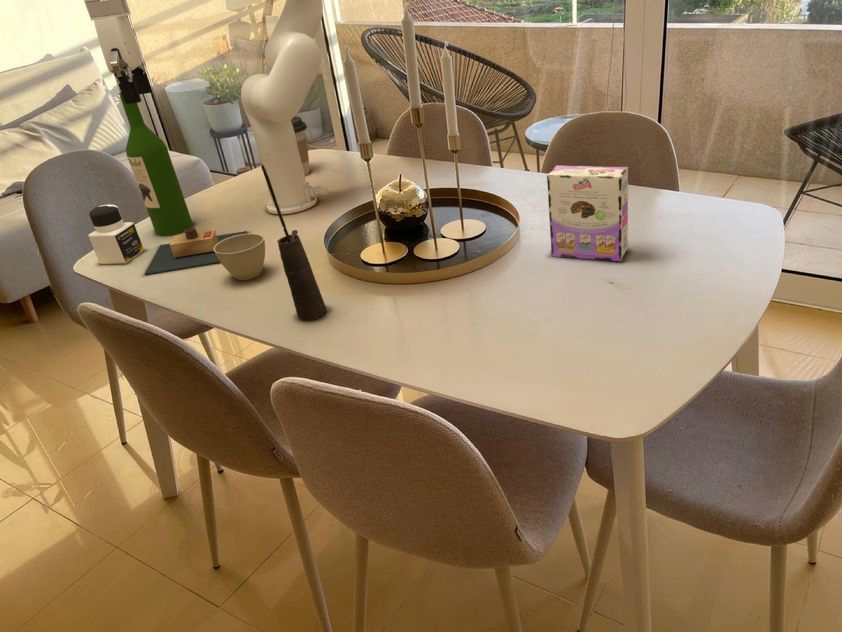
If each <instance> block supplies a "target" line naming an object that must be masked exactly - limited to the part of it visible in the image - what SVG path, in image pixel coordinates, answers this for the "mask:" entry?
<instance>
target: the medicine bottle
mask: <svg viewBox="0 0 842 632" xmlns="http://www.w3.org/2000/svg"><path fill="white" fill-rule="evenodd" d="M88 216H89V218H90V220H91V223H92V225H93V227H94V229H95V230H93V231H92V232H90V233H89V234H88V235H87V237H88V239H89V242H90V244H91V246H92V248H93V250H94V253H95V256H96V258H97V260H98V262H99V264H101V265H111V264H112V265H113V264H114V265H117V264H118V265H119V264H121V265H122V264H123V265H124V264H125V265H126V264H128V263H129V262H131V261H132V260H134V259H135V258H136V257H138V256H139V255H141V254H142V253H143V252H144V251H145V249H144V246H143V242H142V241H141V238H140V236H139V233H138V230H137V227H136V225H135V223H134V222H132V221H128V222H127V221H126V222H125V221H124V218H123V216H122V214H121V211H120V208H119V207H118V206H117V205H115V204H103V205H99V206H96V207H94V208H92V209H91V210H90V211H89V213H88Z"/></svg>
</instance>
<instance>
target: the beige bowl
mask: <svg viewBox="0 0 842 632" xmlns="http://www.w3.org/2000/svg"><path fill="white" fill-rule="evenodd" d="M265 242H266V241H265V237H264V235H263V234H260V233H247V234H241V235H236V236H232V237H229V238H226V239H224V240H222V241H220V242H219V243H217V244H216V245H215V246H214V252H215V254H216V256H217V258H218V259H219V261H220V262H221V263H220V265H222V266H223V267H224V269H225V270H226V271H227V272H228V273H229V274H230V275H231V276H232V277H234V278H235V279H236V280H238V281H248V280H252V279H255V278H257V277H259V276H260V275H261V274H262V272H263V268H264V264H265V258H266V243H265Z"/></svg>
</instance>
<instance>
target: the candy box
mask: <svg viewBox="0 0 842 632" xmlns="http://www.w3.org/2000/svg"><path fill="white" fill-rule="evenodd" d="M546 182H547V198H548V199H547V200H548V202H547V203H548V216H549V217H548V218H549V233H550V256H551V257H555V258H556V257H557V258H569V259H570V258H571V259H582V260H594V261H595V260H596V261H609V262H621V261H622V260H623V259H624V257H625V255H626V253H627V252H628V246H629V245H628V244H629V243H628V241H629V239H628V237H629V236H628V235H629V233H628V232H629V166H594V165H593V166H590V165H585V166H584V165H555V167H553V169H551V171H550V172H548V174H547V175H546Z"/></svg>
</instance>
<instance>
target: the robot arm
mask: <svg viewBox="0 0 842 632" xmlns="http://www.w3.org/2000/svg"><path fill="white" fill-rule="evenodd" d="M83 2H84V5H85V7H86V10H87V13H88V15H89V18H90V20H91V21H93V22H94V28H95V31H96V37H97V39H98V42H99V45H100V49H101V52H102V55H103V58H104V61H105V65H106V67H107V68H106V69H107V70H108V71H109V73H111V74H113V75H114V77H115V79H116V83H117V85H118V87H119V90H120V92H121V93H122V96H123V99H124V102H125V104H132V103H137V104H139V103H141V102H142V97H141V95H145V94H151V93H152V92H153V90H152V87H151V83H150V81H149V77H148V75H147V73H146V69H145V67H144V65H143V57H142V54H141V50H140V46H139V44H138V41H137V37H136V35H135V33H134V30H133V27H132V26H131V23H130V20H129V18H128V16H129V15H131V14H132V13H131V11H130V8H129V4H128V2H127V0H83ZM323 8H324V5H323V0H285V2H284V6H283V8H282V11H281V14H280V16H279V18H278V20H277V22H276V24H275V27H274V28H273V30H272V32H271V35H270V36H269V39H268V41H267V43H266V45H265V48H264V60H265V62H266V64H267V66H268V67H269V68H270V69H271V70H270V71H269V74H267V73H255V74H252V75H250V76H248V77H247V78H246V79H245V81H244V82H243V83H242V86H241V90H240V99H241V104H242V108H243V110H244V113H245V115H246V117H247V120H248V123H249V126H250V128H251V131H252V134H253V138H254V142H255V146H256V149H257V153H258V156H259V160H260V164H261V165H262V164H263V166H264V168H265V170H266V172H267V174H268V177H269V179H270V182H271V185H272V188H273V191H274V194H275V197H276V200H277V203H278V206H279V209H280V211H281V214H282V215H289V214H295V213H300V212H302V211H305V210H308V209H310V208H312V207H313V206H315V205H316V204H317V202H318V199H317V196H325V195H328V192H327V187H326V186H322V185H316V186H312V185H311V184H310V181H307V179H306V175H304V170H303V166H302V162H301V158H300V154H299V150H298V145H297V140H296V136H295V132H294V129H293V126H292V123H291V119H292V118H294V117H295V116H296V117H297V114H298V113H299V112H300V110H301V109H302V106H303V105H304V103H305V100H306V99H307V96H308V94H309V92H310V90H311V88H312V86H313V84H314V83H315V80H316V78H317V76H318V73H319V71H320V68H321V62H322V61H321V60H322V56H321V55H322V54H321V50H320V47H319V45H318V43H317V42H316V41H315V40H314V39H315V38H316V35H317V32H318V29H319V27H320V25H321V21H322V18H323V13H324V9H323ZM265 182H266V181H265ZM266 187H267V190H268V193H269V197H270V200H269V201H268V202H267V204H266V210H267V212H268V213H270V214H273V215H278V212H277V210H276V207H275V204H274V201H273V198H272V195H271V193H270V190H269V187H268V184H267V182H266Z"/></svg>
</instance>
